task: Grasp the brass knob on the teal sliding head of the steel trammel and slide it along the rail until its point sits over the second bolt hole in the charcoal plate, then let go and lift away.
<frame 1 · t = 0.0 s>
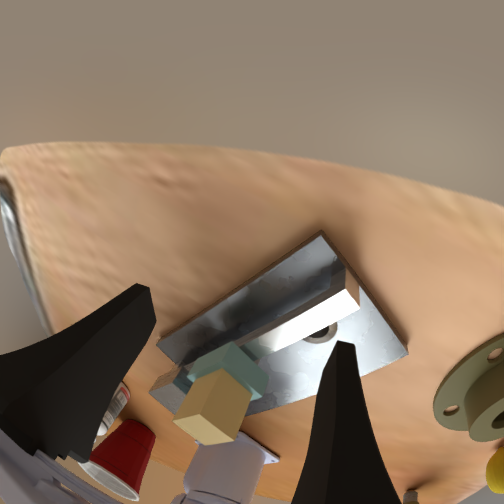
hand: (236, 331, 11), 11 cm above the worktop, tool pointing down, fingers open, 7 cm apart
flange: (497, 380, 21), on the worktop
lemon: (499, 446, 24), on the worktop
hole plate: (272, 347, 25), on the worktop
light bulb: (410, 489, 33), on the worktop
pill bottle: (115, 383, 37), on the worktop
plastic cup: (141, 428, 42), on the worktop
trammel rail: (243, 359, 22), on the hole plate, point 3 cm above the worktop
sliding head: (224, 384, 20), point 6 cm above the worktop, slide at -1.0 cm
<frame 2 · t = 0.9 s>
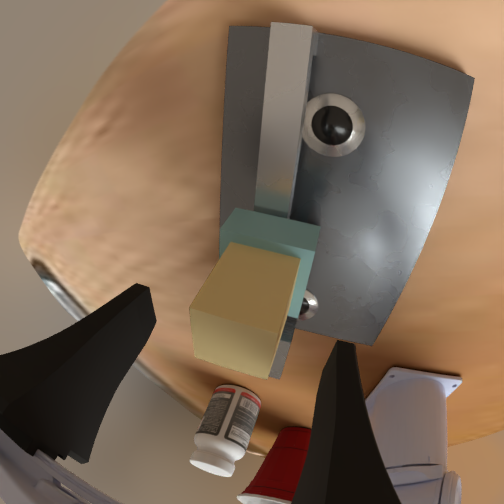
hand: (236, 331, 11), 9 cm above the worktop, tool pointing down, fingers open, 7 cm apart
hole plate: (326, 207, 17), on the worktop
pill bottle: (239, 394, 34), on the worktop
plastic cup: (301, 432, 36), on the worktop
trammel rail: (277, 229, 15), on the hole plate, point 3 cm above the worktop
sliding head: (263, 273, 14), point 6 cm above the worktop, slide at -1.0 cm
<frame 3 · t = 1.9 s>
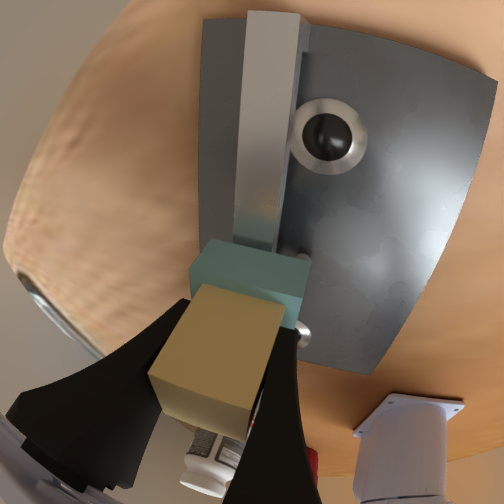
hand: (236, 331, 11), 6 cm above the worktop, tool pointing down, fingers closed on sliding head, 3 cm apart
hole plate: (320, 231, 15), on the worktop
pill bottle: (231, 413, 31), on the worktop
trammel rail: (260, 263, 13), on the hole plate, point 3 cm above the worktop
sliding head: (243, 316, 12), point 6 cm above the worktop, slide at -1.0 cm, touching gripper
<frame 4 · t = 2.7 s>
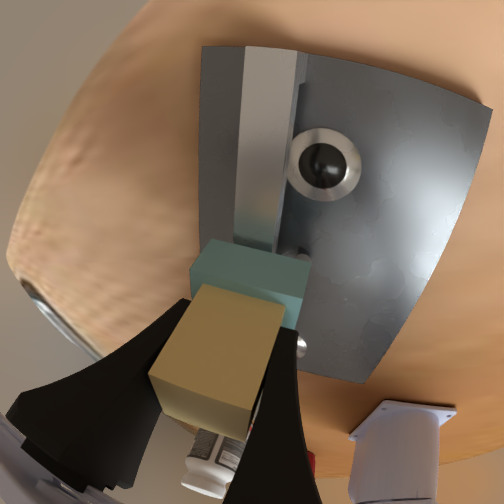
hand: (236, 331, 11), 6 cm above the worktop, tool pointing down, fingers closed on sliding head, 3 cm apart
hole plate: (315, 251, 16), on the worktop
pill bottle: (231, 416, 32), on the worktop
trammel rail: (258, 285, 14), on the hole plate, point 3 cm above the worktop
sliding head: (243, 316, 12), point 6 cm above the worktop, slide at 0.2 cm, touching gripper
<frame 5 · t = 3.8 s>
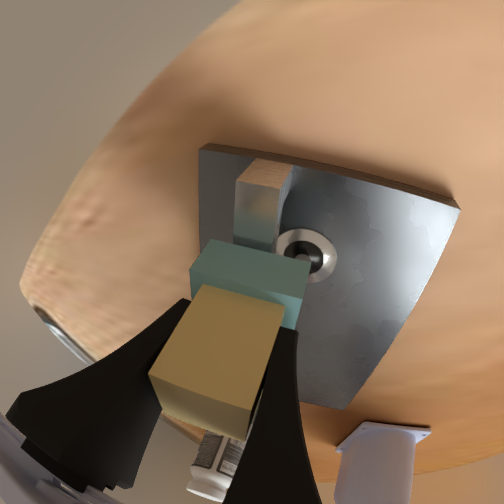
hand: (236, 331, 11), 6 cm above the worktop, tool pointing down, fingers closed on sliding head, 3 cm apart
hole plate: (299, 313, 19), on the worktop
pill bottle: (230, 429, 35), on the worktop
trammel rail: (250, 347, 16), on the hole plate, point 3 cm above the worktop
sliding head: (243, 316, 12), point 6 cm above the worktop, slide at 5.0 cm, touching gripper
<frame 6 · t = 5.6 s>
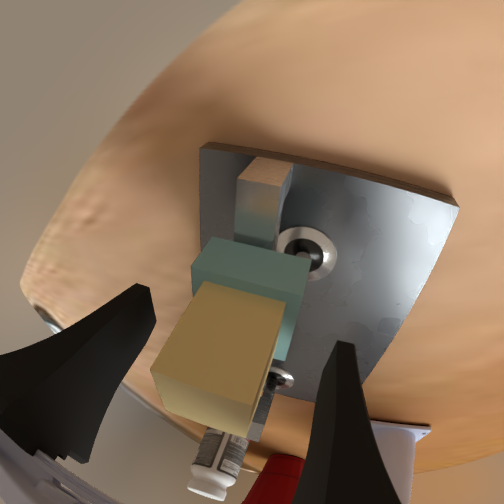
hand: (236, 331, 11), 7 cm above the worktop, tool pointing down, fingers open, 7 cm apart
hole plate: (299, 310, 19), on the worktop
pill bottle: (231, 428, 35), on the worktop
plastic cup: (288, 458, 38), on the worktop
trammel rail: (251, 345, 16), on the hole plate, point 3 cm above the worktop
sliding head: (244, 313, 12), point 6 cm above the worktop, slide at 5.0 cm
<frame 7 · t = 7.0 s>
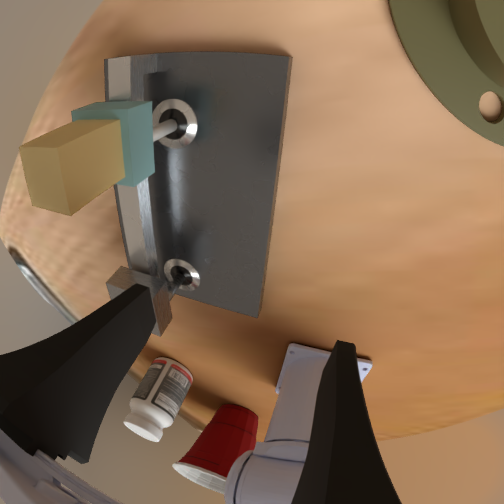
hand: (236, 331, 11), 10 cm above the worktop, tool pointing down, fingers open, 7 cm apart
hole plate: (189, 191, 21), on the worktop
pill bottle: (174, 368, 37), on the worktop
plastic cup: (238, 411, 40), on the worktop
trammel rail: (136, 208, 18), on the hole plate, point 3 cm above the worktop
sliding head: (104, 145, 14), point 6 cm above the worktop, slide at 5.0 cm
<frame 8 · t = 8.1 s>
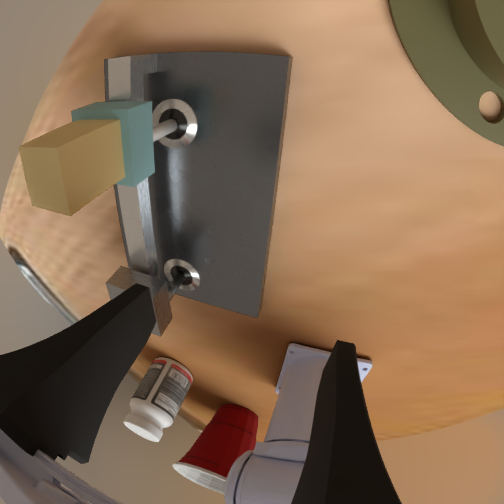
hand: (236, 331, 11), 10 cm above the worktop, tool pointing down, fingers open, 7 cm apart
hole plate: (189, 191, 21), on the worktop
pill bottle: (174, 368, 37), on the worktop
plastic cup: (238, 411, 40), on the worktop
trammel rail: (136, 208, 18), on the hole plate, point 3 cm above the worktop
sliding head: (104, 145, 14), point 6 cm above the worktop, slide at 5.0 cm
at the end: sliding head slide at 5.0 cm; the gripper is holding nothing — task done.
